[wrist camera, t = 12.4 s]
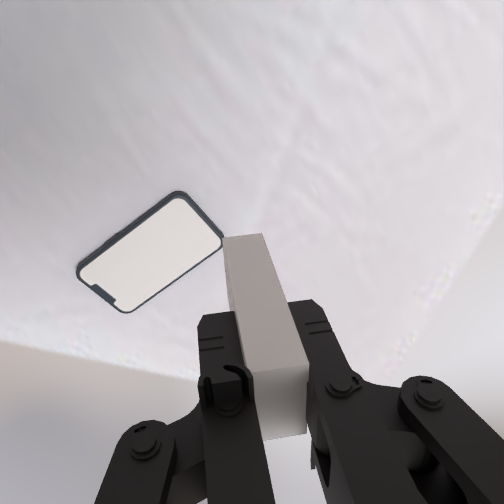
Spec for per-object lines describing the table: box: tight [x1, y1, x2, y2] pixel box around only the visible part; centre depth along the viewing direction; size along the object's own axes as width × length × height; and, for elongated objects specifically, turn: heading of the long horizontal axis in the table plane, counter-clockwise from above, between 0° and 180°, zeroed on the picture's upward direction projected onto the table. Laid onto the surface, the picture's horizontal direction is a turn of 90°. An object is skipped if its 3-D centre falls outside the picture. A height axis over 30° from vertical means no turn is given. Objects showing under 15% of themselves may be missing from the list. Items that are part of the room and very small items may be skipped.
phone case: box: [76, 191, 224, 313], centre depth 49 cm, size 9×2×16 cm
